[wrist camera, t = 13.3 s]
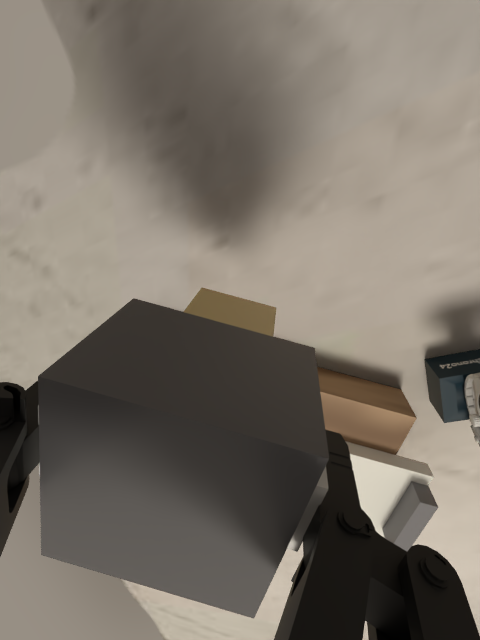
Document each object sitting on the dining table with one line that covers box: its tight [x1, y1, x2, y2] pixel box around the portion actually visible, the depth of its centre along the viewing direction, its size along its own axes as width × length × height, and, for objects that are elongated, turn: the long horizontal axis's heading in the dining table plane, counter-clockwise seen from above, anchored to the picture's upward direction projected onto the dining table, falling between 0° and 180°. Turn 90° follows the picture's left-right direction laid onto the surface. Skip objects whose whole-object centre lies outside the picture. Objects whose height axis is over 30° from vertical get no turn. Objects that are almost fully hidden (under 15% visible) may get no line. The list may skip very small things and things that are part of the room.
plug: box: [38, 288, 329, 618], centre depth 14 cm, size 6×6×11 cm
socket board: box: [317, 367, 416, 455], centre depth 33 cm, size 16×22×4 cm
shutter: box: [345, 441, 438, 551], centre depth 29 cm, size 8×8×3 cm
